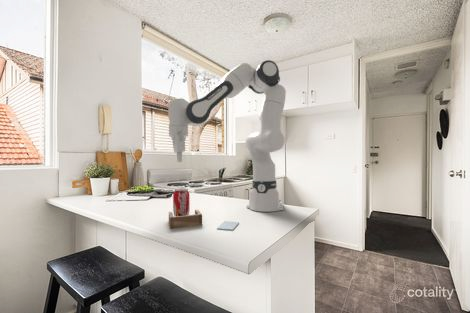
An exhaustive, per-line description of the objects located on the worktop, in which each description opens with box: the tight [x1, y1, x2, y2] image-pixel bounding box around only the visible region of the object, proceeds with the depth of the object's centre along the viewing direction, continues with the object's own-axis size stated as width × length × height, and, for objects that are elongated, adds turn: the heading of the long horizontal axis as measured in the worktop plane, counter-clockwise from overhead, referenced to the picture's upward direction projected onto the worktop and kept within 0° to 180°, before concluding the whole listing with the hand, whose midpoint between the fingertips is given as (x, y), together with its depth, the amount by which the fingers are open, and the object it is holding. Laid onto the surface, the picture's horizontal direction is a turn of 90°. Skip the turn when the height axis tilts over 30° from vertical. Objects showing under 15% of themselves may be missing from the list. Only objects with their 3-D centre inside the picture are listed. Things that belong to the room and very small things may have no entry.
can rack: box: [168, 208, 203, 229], centre depth 89 cm, size 9×12×4 cm
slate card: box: [216, 220, 240, 232], centre depth 85 cm, size 9×6×1 cm, turn 165°
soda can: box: [172, 187, 191, 217], centre depth 100 cm, size 7×7×12 cm
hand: (179, 162), depth 106 cm, fingers closed
